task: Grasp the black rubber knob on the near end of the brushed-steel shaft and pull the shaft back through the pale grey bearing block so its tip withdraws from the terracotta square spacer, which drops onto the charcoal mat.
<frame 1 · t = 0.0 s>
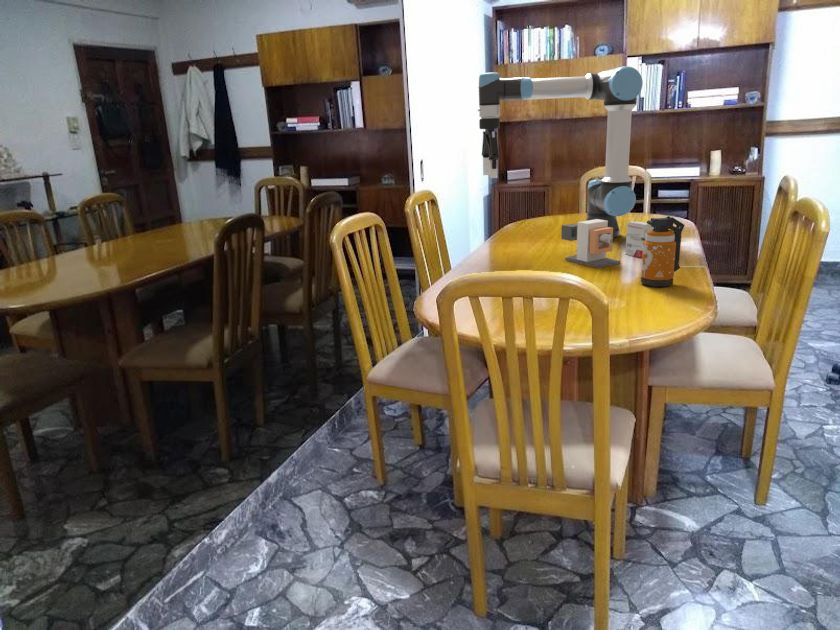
hand: (490, 176, 233), 28 cm above the table, fingers open, 13 cm apart
bearing block: (591, 261, 214), on the table
ink box: (638, 256, 220), on the table
shaft: (587, 235, 213), point 9 cm above the table, slide at 0.0 cm, touching spacer
spacer: (601, 240, 208), point 8 cm above the table, touching shaft
canister: (659, 284, 183), on the table
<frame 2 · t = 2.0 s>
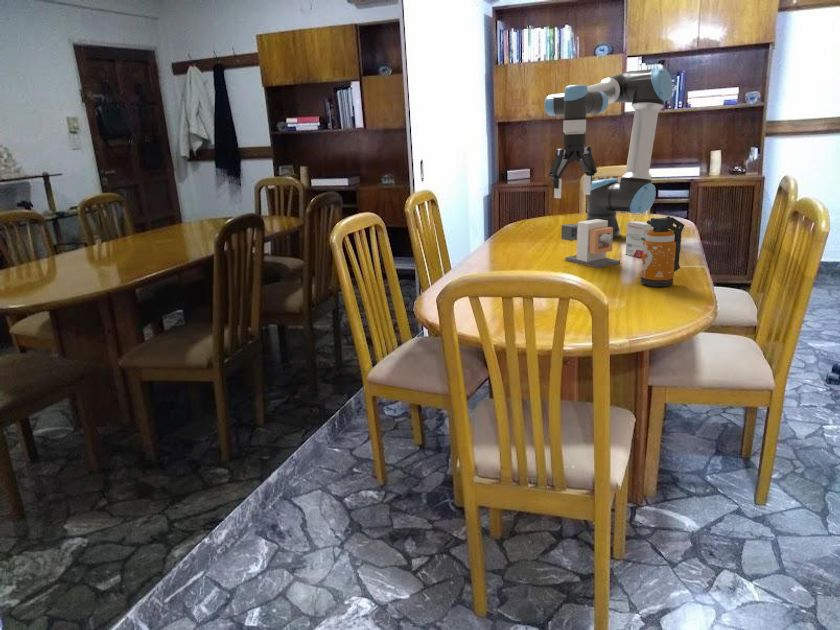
hand: (572, 196, 216), 22 cm above the table, fingers open, 13 cm apart
nothing on the table moved.
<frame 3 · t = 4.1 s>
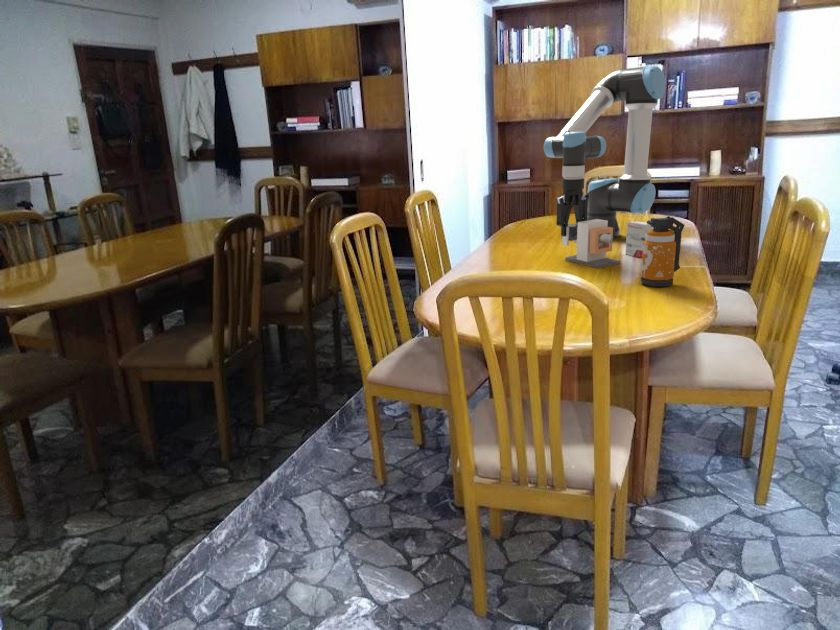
hand: (571, 243, 221), 5 cm above the table, fingers closed on shaft, 5 cm apart
shaft: (587, 235, 213), point 9 cm above the table, slide at 0.0 cm, touching gripper, spacer
everything else where it was.
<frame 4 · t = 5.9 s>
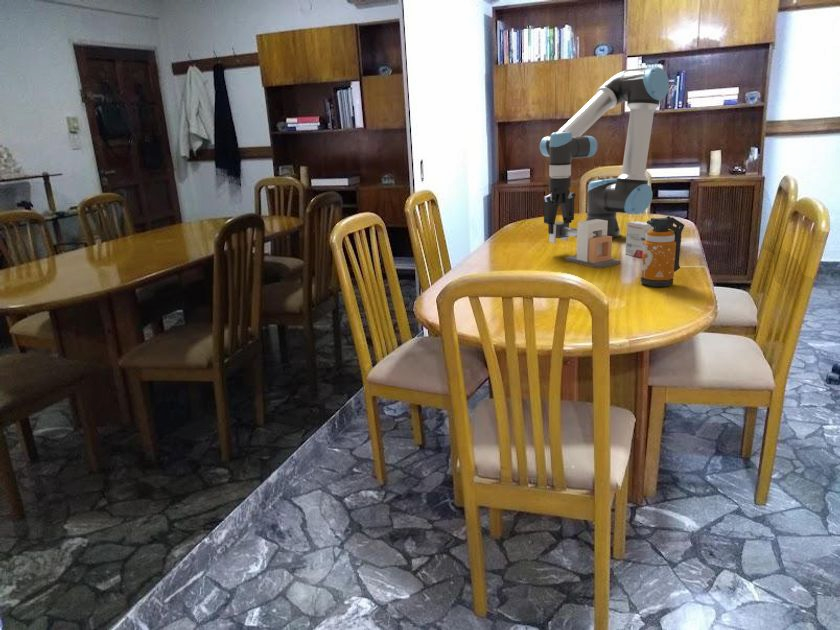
hand: (558, 241, 227), 5 cm above the table, fingers closed on shaft, 5 cm apart
shaft: (573, 232, 219), point 9 cm above the table, slide at 6.7 cm, touching gripper
spacer: (600, 249, 209), point 5 cm above the table, touching bearing block
everything else where it was.
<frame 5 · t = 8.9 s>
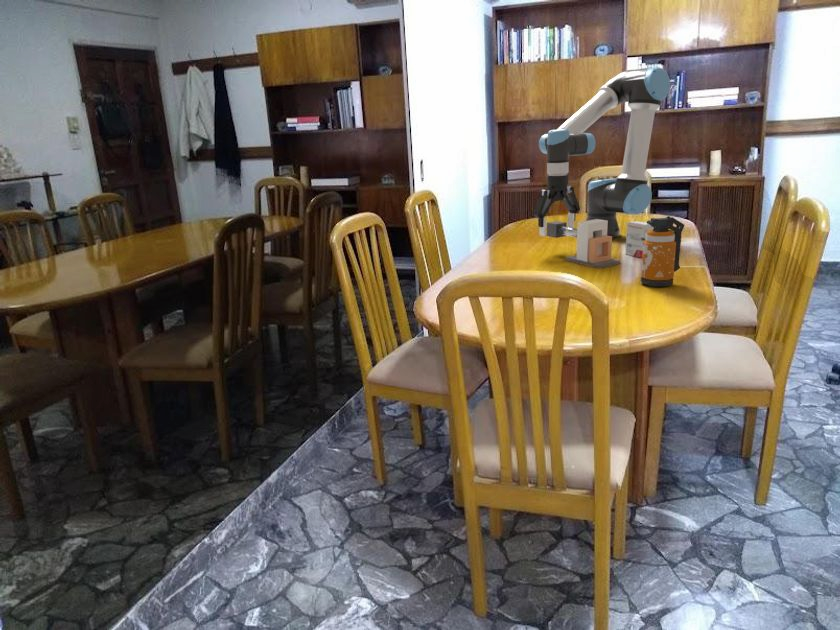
hand: (556, 233, 227), 8 cm above the table, fingers open, 13 cm apart
shaft: (571, 232, 220), point 9 cm above the table, slide at 7.9 cm
everything else where it was.
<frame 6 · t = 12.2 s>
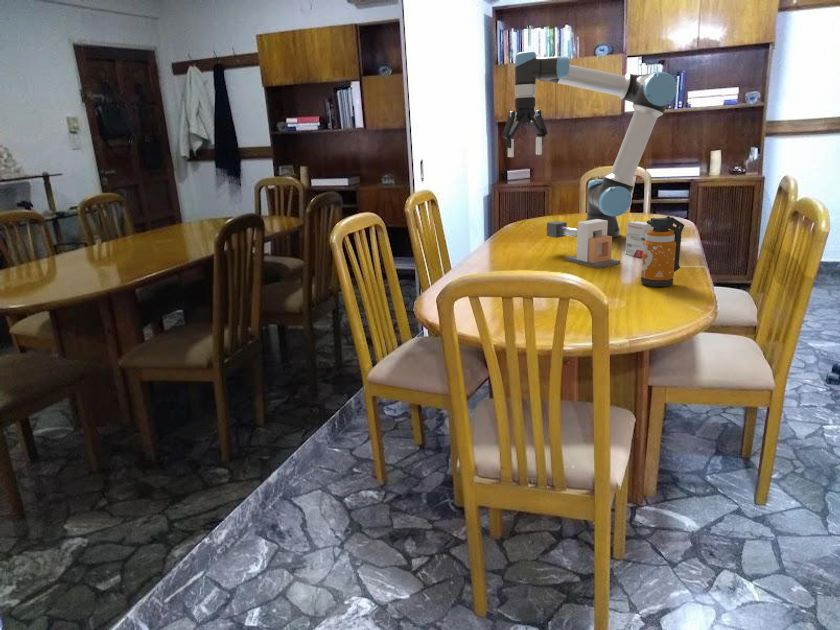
hand: (524, 155, 236), 35 cm above the table, fingers open, 13 cm apart
nothing on the table moved.
at the end: spacer point 5.0 cm above the table; shaft slide at 7.9 cm; spacer touching bearing block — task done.
